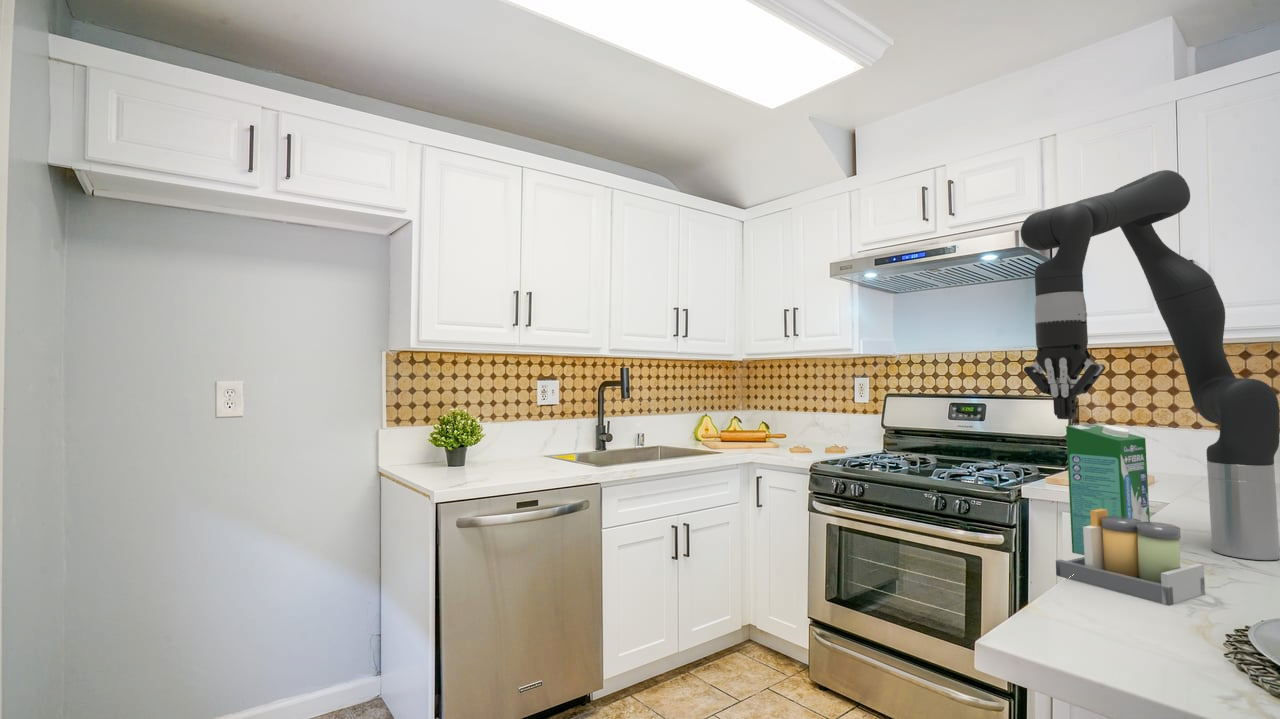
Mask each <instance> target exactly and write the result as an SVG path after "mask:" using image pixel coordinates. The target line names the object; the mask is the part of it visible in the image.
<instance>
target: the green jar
mask: <svg viewBox="0 0 1280 719" xmlns="http://www.w3.org/2000/svg"><path fill="white" fill-rule="evenodd" d="M1136 527H1137V534H1138V570H1139V579H1143V580H1147V581H1152V582H1156V583H1160V584H1161V573H1164V572H1167V571H1171V570H1175V569H1179V568H1181V541H1180V539H1181V527H1179V526H1177V525H1174V524H1171V523H1170V524H1169V523H1163V522H1156V521H1150V522H1137V523H1136Z"/></svg>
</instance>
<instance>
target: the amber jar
mask: <svg viewBox="0 0 1280 719" xmlns="http://www.w3.org/2000/svg"><path fill="white" fill-rule="evenodd" d="M1137 522H1142V521H1141V520H1138V519H1134V518H1129V517H1120V516H1104V517H1101V526H1102V530H1103V550H1104V570H1106V571H1110V572H1114V573H1118V574H1123V575H1127V576H1131V577H1135V578H1139V570H1138V534H1137V527H1136V523H1137Z"/></svg>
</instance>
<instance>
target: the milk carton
mask: <svg viewBox="0 0 1280 719" xmlns="http://www.w3.org/2000/svg"><path fill="white" fill-rule="evenodd" d="M1065 429H1066V430H1065V432H1066V433H1065V435H1066V452H1067V453H1066V456H1067V472H1068V492H1069V494H1068V495H1069V510H1070V511H1069V515H1070V530H1071V531H1070V532H1071V534H1070V536H1071V552H1072V554H1075V555H1079V556H1080V555H1081V556H1085V555H1084V535H1083V527H1086V526H1091V515H1090V511H1091V510H1096V509H1106V510H1108V516H1120V517H1129V518H1134V519H1138V520H1141V521H1142V522H1151V521H1150V520H1151V518H1150V516H1151V515H1150V501H1149V498H1150V497H1149V484H1148V464H1147V462H1148V461H1147V447H1146V437H1144V436H1139V435H1136V434H1133V433H1130V430H1129V429H1127V428H1123V427H1120V426H1117V425H1110V424H1108V425H1107V424H1106V425H1105V424H1104V425H1103V426H1102V425H1099V424H1095V423H1085V424H1075V425H1065Z"/></svg>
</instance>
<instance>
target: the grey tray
mask: <svg viewBox="0 0 1280 719" xmlns="http://www.w3.org/2000/svg"><path fill="white" fill-rule="evenodd" d="M1204 567H1205V566H1204V564H1201V563H1194V564H1190V565H1186V566H1182V567H1180V568H1179V569H1175V570H1171V571H1167V572H1164V573H1161V584H1160V583H1156V582H1152V581H1147V580H1143V579H1139V578H1135V577H1131V576H1127V575H1123V574H1118V573H1114V572H1110V571H1106V570H1102V569H1098V568H1094V567H1089V566H1085V556H1082V557H1077V558H1074V559H1070V560H1069V559H1068V560H1064V559H1056V560H1055V575H1056V577H1060V578H1064V579H1067V580H1072V581H1076V582H1079V583H1082V584H1086V585H1089V586H1093V587H1098V588H1102V589H1106V590H1107V591H1108V590H1109V591H1113V592H1115V593H1116V592H1117V593H1121V594H1124V595H1128V596H1132V597H1135V598H1138V599H1143V600H1147V601H1151V602H1153V603H1158V604H1160V605H1161V604H1162V605H1165V606H1173V605H1175V604H1178V603H1179V604H1180V603H1181V602H1185V601H1189V600H1192V599H1195V598H1198V597H1201V596H1204V595H1206V586H1205V584H1206V583H1205V568H1204ZM1073 574H1074V575H1073ZM1072 575H1073V576H1072ZM1070 576H1071V577H1070ZM1069 577H1070V578H1069ZM1068 578H1069V579H1068Z"/></svg>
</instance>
